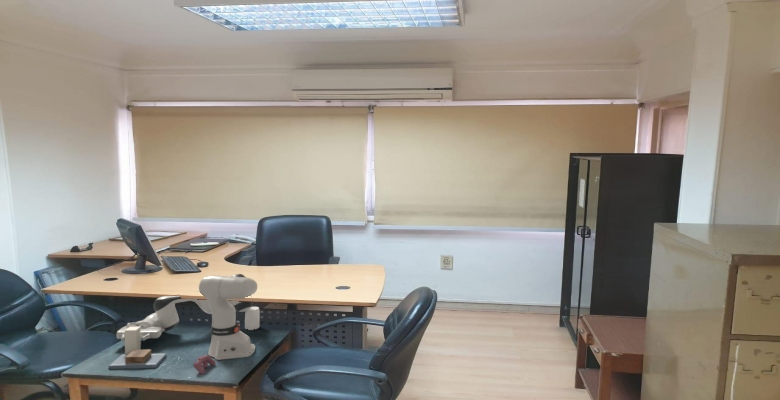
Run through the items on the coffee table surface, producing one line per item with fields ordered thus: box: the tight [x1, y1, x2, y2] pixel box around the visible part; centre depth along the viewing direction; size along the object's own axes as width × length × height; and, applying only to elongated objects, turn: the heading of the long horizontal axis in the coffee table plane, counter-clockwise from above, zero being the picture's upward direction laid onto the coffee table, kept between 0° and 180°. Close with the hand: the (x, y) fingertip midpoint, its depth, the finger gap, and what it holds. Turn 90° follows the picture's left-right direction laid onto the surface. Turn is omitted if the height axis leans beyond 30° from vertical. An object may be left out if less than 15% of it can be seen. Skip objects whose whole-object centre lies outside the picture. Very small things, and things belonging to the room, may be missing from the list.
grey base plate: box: [108, 348, 167, 370], centre depth 192 cm, size 20×12×4 cm, turn 98°
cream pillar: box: [124, 327, 142, 354], centre depth 203 cm, size 5×5×12 cm
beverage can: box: [244, 305, 261, 331], centre depth 240 cm, size 8×8×12 cm
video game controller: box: [193, 354, 216, 375], centre depth 189 cm, size 10×5×7 cm, turn 171°
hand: (132, 339), depth 202 cm, fingers open, 8 cm apart
